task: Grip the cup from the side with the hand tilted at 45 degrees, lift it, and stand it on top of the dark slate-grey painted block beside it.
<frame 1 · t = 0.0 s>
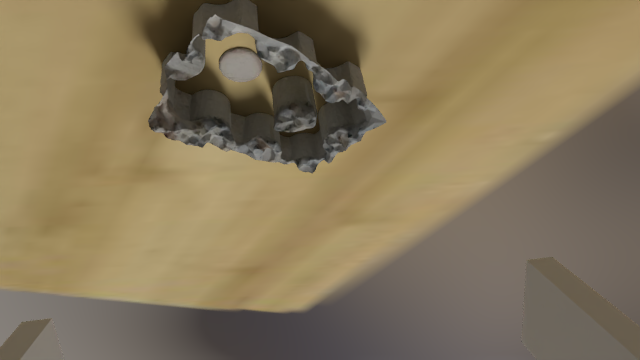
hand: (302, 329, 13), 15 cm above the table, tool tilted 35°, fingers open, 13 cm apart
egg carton: (268, 71, 26), on the table
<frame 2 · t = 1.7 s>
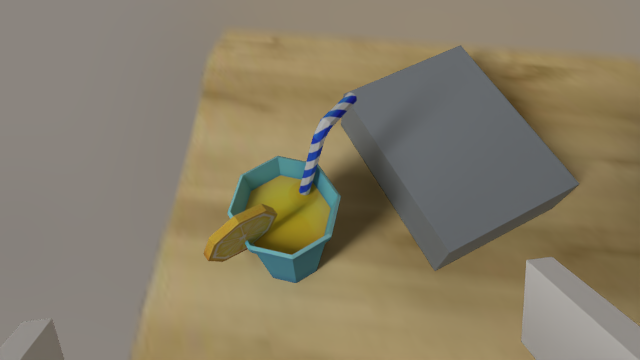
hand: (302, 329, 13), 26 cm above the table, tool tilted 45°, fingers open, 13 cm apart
cup: (298, 246, 41), on the table
slate block: (441, 164, 45), on the table
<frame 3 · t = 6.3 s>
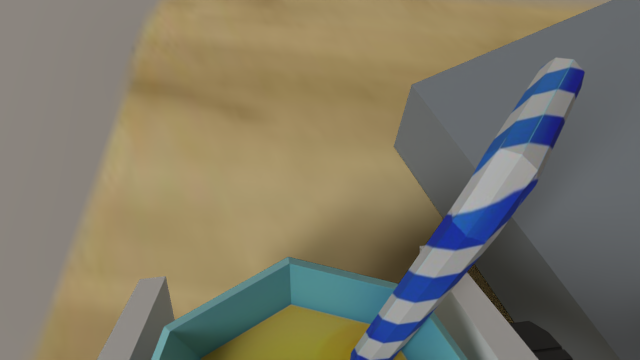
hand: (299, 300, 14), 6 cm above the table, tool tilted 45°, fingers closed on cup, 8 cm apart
slate block: (602, 229, 22), on the table
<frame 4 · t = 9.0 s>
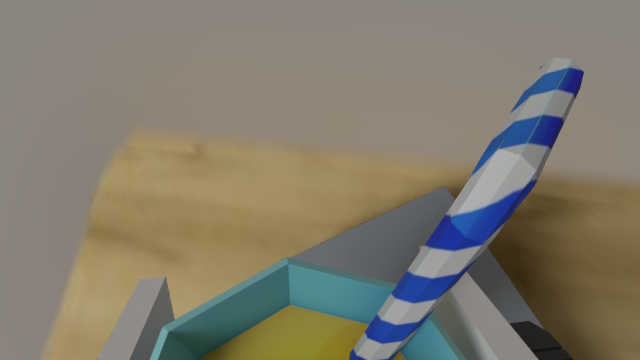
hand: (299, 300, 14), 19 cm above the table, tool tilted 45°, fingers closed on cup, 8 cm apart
slate block: (415, 355, 32), on the table
when the fingers open (13 cm above the table, at t = 11.5 s): cup drops 1 cm, resting on slate block.
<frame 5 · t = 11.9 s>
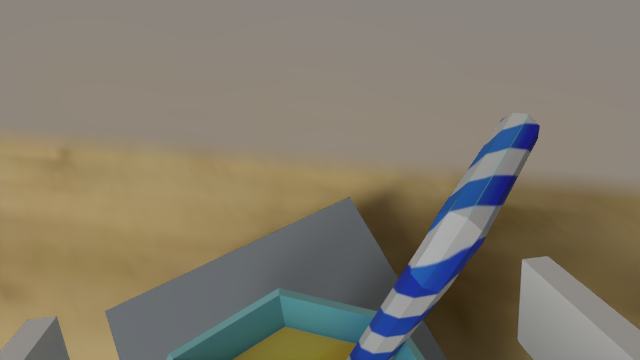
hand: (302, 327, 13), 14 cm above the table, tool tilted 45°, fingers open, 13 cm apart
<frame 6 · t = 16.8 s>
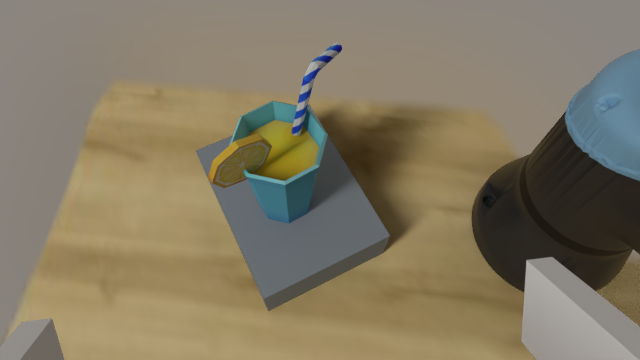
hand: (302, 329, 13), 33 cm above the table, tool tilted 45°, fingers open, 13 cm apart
cup: (291, 192, 46), point 5 cm above the table, touching slate block
slate block: (290, 211, 50), on the table
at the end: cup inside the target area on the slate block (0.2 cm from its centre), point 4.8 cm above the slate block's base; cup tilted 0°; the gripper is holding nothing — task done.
